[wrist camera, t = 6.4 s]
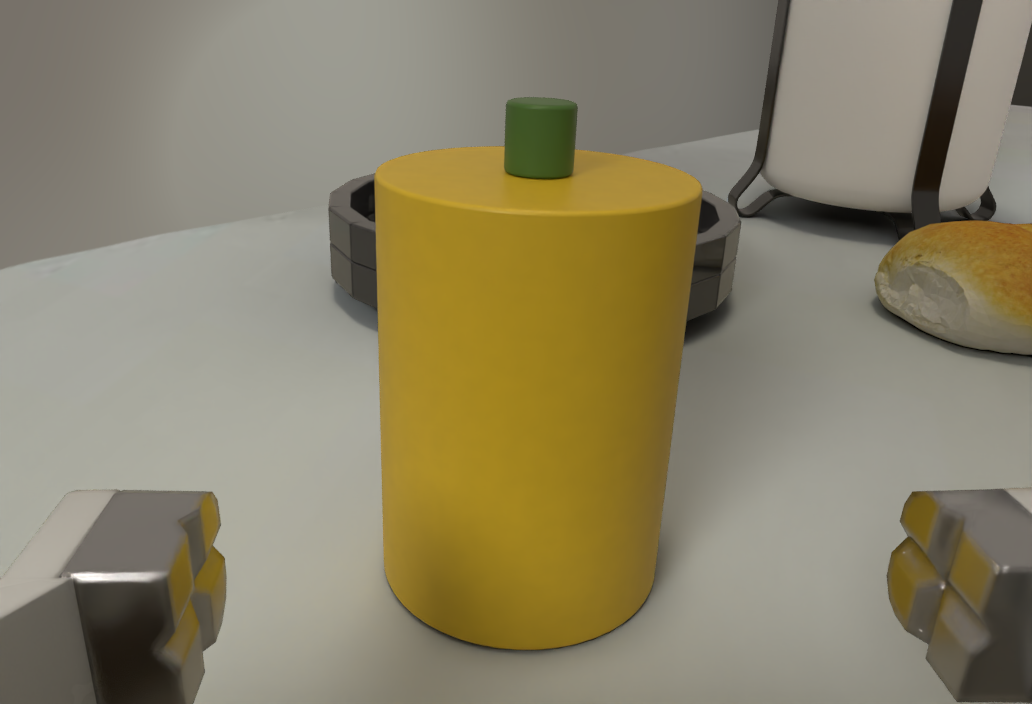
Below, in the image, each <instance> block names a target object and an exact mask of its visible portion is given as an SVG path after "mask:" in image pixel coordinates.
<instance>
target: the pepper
mask: <svg viewBox="0 0 1032 704" xmlns="http://www.w3.org/2000/svg"><path fill="white" fill-rule="evenodd" d="M577 109H578V108H577V104H576V103H574V102H572V101H569V100H563V99H555V98H538V97H524V98H514V99H511V100H508V102H507V104H506V121H505V124H506V125H505V146H489V147H488V146H487V147H463V148H449V149H440V150H431V151H424V152H419V153H413V154H409V155H405V156H401V157H398V158H395V159H392V160H389V161H387V162H385V163H383V164H382V165H381V166H379V167H378V168H377V170H376V173H375V175H374V182H375V222H376V263H377V303H378V344H379V384H380V425H381V466H382V506H383V547H384V568H385V573H386V576H387V580H388V582H389V584H390V586H391V588H392V590H393V592H394V593H395V595H396V596H397V598H398V599H399V600H400V601H401V603H402V604H403V605H404V606H405V607H406V608H407V609H408V610H409V611H410V612H411V613H412V614H414V615H415V616H416V617H417V618H419V619H420V620H422V621H423V622H425V623H426V624H428V625H429V626H431V627H433V628H435V629H437V630H439V631H441V632H443V633H445V634H447V635H450V636H453V637H455V638H458V639H460V640H464V641H467V642H471V643H474V644H478V645H483V646H489V647H494V648H501V649H513V650H542V649H551V648H560V647H565V646H570V645H574V644H579V643H582V642H585V641H588V640H591V639H594V638H597V637H599V636H601V635H603V634H605V633H608V632H610V631H611V630H613V629H615V628H616V627H618V626H620V625H621V624H623V623H624V622H625V621H626V620H628V619H629V618H630V617H631V616H632V615H634V614H635V612H636V611H637V610H638V609H639V608H640V607H641V605H642V604H643V603H644V602H645V600H646V598H647V596H648V594H649V593H650V591H651V588H652V584H653V581H654V575H655V567H656V559H657V551H658V543H659V535H660V527H661V519H662V511H663V503H664V495H665V487H666V479H667V471H668V463H669V455H670V447H671V439H672V431H673V423H674V415H675V407H676V399H677V391H678V383H679V375H680V367H681V359H682V351H683V343H684V335H685V327H686V319H687V311H688V304H689V296H690V288H691V280H692V272H693V264H694V256H695V248H696V240H697V232H698V224H699V216H700V208H701V200H702V186H701V184H700V182H699V181H698V180H697V179H695V178H694V177H693V176H691V175H689V174H687V173H685V172H683V171H681V170H678V169H676V168H673V167H670V166H667V165H664V164H660V163H656V162H652V161H648V160H643V159H639V158H634V157H628V156H622V155H616V154H609V153H601V152H594V151H593V152H592V151H584V150H575V139H576V125H577Z"/></svg>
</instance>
